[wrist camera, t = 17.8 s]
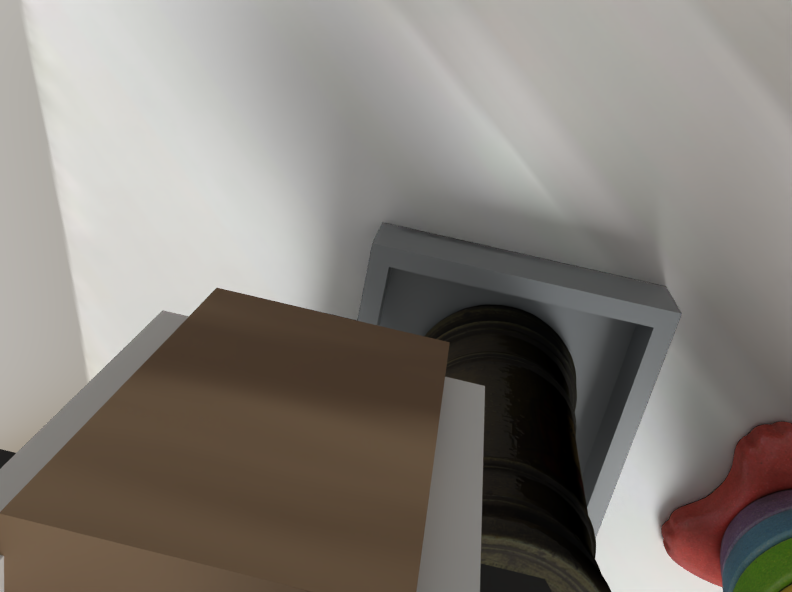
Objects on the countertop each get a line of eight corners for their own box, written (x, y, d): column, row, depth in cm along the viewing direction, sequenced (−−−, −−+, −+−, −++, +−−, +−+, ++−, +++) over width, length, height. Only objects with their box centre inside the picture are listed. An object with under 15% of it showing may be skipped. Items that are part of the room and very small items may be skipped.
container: (410, 444, 43) (358, 727, 27) (405, 300, 40) (342, 520, 23) (570, 450, 42) (619, 749, 26) (579, 302, 39) (642, 535, 22)
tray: (382, 222, 39) (372, 243, 36) (666, 286, 39) (681, 313, 36) (318, 546, 48) (305, 586, 45) (549, 602, 47) (553, 647, 44)
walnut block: (217, 287, 13) (-2, 514, 7) (449, 342, 12) (412, 616, 7) (194, 481, 14) (0, 790, 9) (401, 531, 14) (339, 881, 8)
